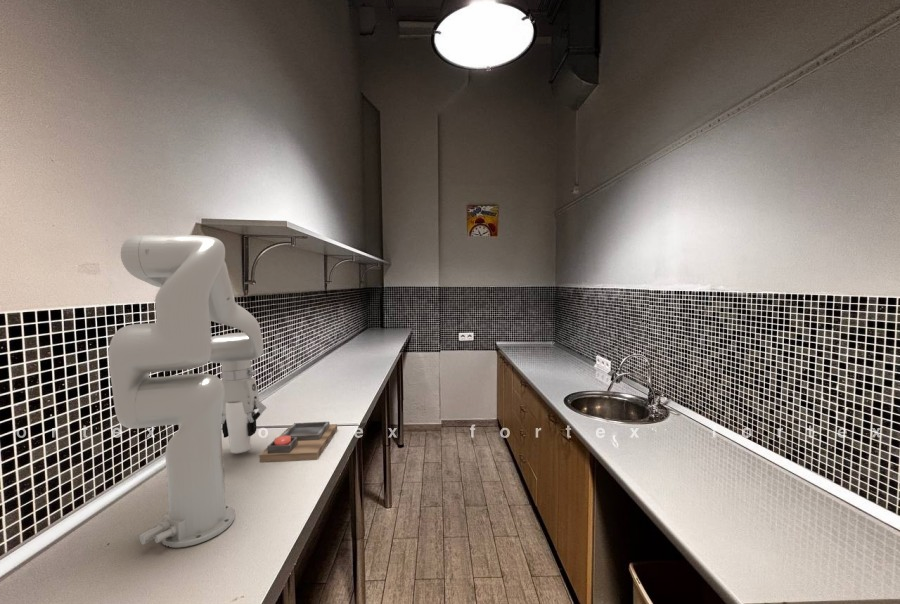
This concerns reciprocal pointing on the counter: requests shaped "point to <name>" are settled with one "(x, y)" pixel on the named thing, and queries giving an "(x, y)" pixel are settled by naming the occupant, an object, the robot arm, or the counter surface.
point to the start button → (282, 440)
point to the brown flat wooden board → (301, 442)
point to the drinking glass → (237, 428)
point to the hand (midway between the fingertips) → (239, 434)
